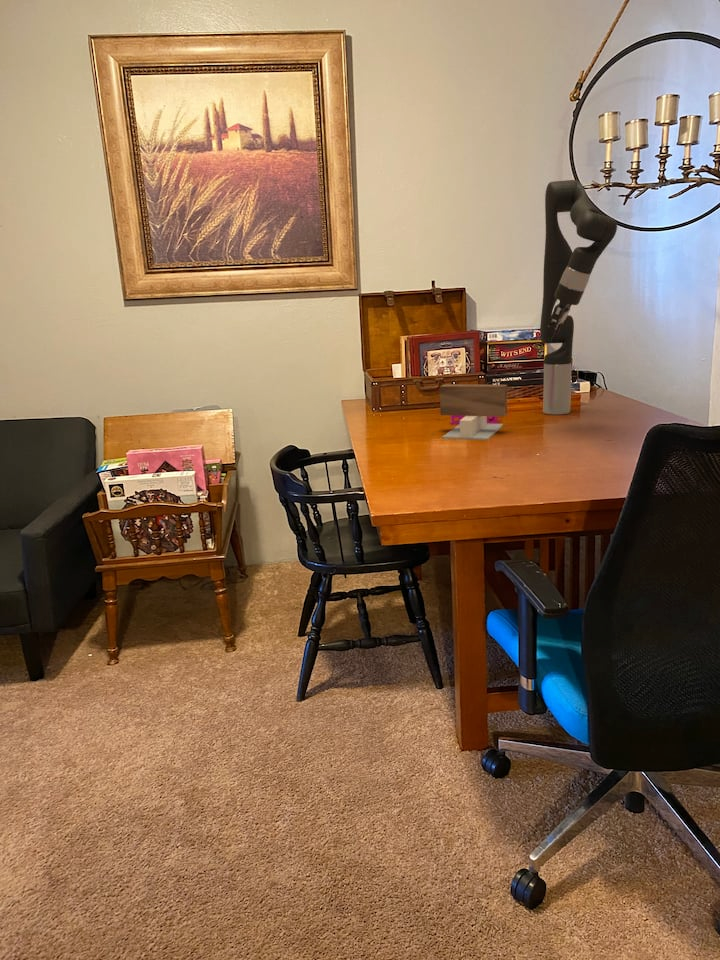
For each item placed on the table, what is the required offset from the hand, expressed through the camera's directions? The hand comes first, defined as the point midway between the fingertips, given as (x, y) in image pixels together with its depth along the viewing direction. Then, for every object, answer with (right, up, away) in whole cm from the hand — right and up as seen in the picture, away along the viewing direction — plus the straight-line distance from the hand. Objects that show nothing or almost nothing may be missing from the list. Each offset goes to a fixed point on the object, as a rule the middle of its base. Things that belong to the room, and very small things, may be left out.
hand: (550, 337), depth 208 cm
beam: (-22, -23, +7) cm, 32 cm away
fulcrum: (-22, -28, +9) cm, 37 cm away
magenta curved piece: (-19, -25, +24) cm, 39 cm away
